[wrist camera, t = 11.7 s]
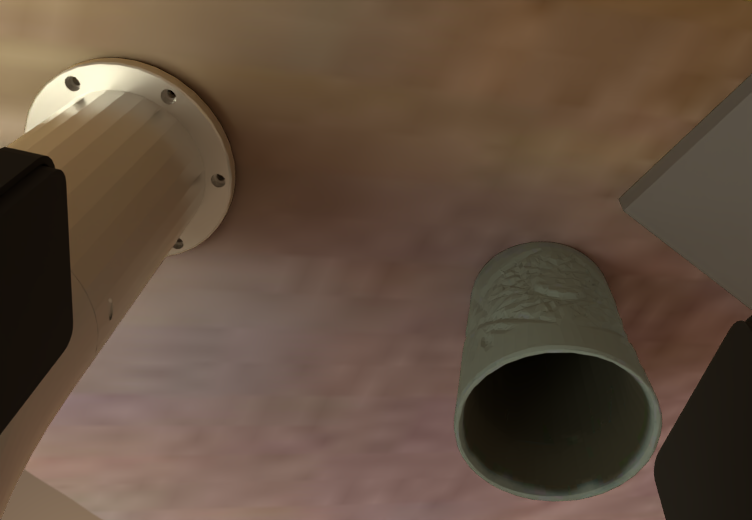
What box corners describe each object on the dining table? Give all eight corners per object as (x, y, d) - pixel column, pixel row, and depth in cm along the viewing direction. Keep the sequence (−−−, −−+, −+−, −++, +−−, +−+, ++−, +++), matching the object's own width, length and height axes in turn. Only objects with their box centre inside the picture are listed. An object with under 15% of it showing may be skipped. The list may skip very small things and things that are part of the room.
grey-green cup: (520, 381, 49) (533, 527, 39) (423, 285, 46) (410, 417, 36) (651, 305, 45) (705, 447, 35) (555, 194, 42) (582, 314, 31)
